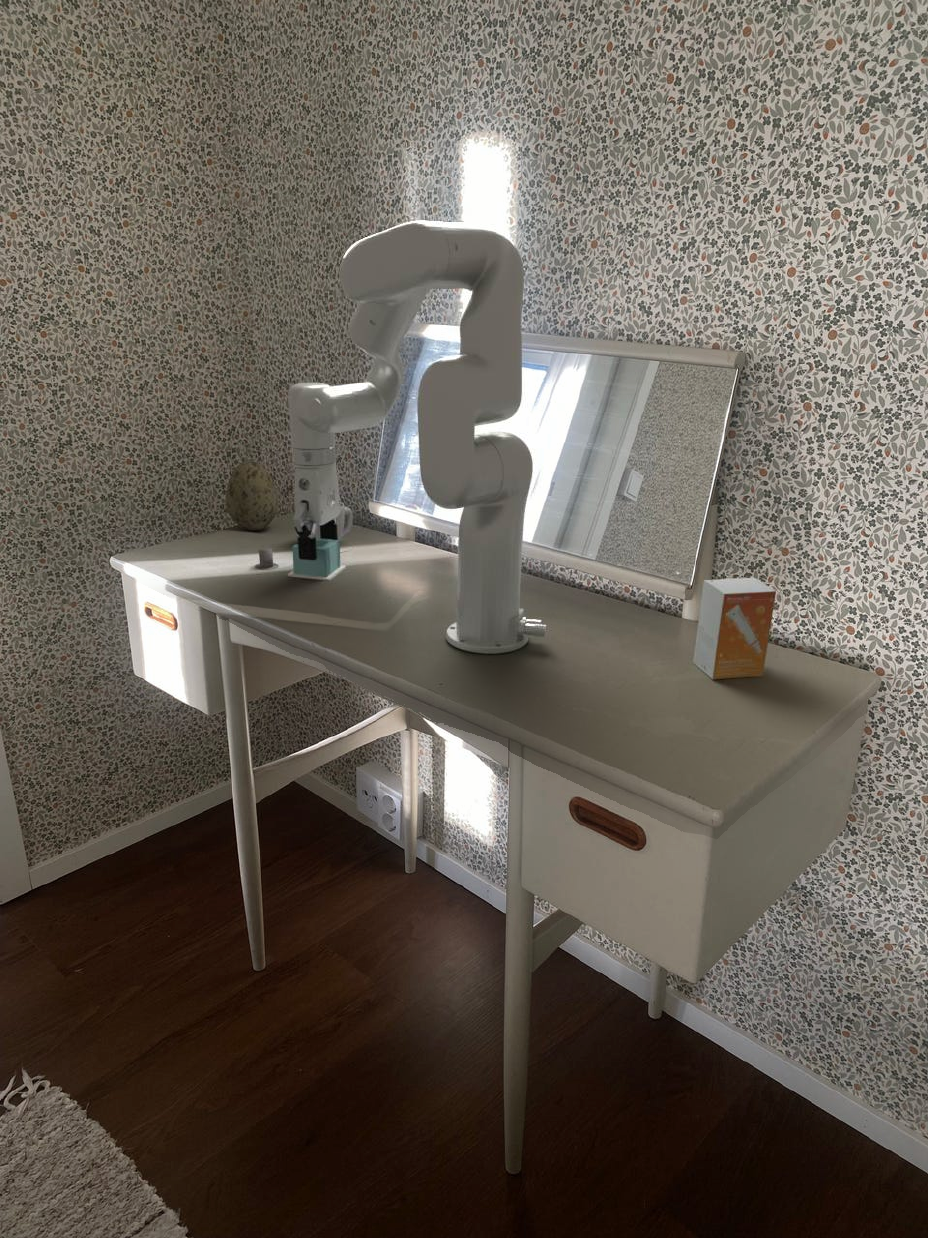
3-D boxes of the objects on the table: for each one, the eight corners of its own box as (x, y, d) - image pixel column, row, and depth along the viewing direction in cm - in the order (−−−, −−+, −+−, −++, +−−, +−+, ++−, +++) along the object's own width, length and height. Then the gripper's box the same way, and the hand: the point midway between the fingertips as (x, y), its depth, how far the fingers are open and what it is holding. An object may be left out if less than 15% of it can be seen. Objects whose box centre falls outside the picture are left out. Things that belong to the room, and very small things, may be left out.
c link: (340, 566, 170) (339, 540, 168) (327, 576, 164) (326, 549, 163) (307, 563, 172) (306, 537, 170) (293, 573, 166) (292, 546, 164)
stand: (355, 572, 173) (354, 548, 171) (330, 592, 162) (330, 566, 160) (256, 562, 177) (255, 538, 176) (226, 581, 167) (224, 555, 165)
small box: (712, 681, 131) (723, 593, 126) (692, 663, 136) (702, 579, 132) (764, 676, 132) (777, 590, 128) (742, 659, 138) (754, 576, 133)
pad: (346, 568, 171) (346, 565, 171) (329, 581, 164) (329, 578, 163) (305, 564, 173) (305, 561, 172) (287, 577, 165) (287, 574, 165)
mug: (320, 561, 179) (318, 512, 176) (291, 551, 185) (289, 504, 181) (366, 548, 188) (365, 502, 184) (337, 540, 193) (336, 494, 190)
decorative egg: (219, 534, 195) (214, 463, 189) (239, 521, 205) (235, 453, 199) (268, 538, 193) (264, 466, 188) (286, 525, 203) (283, 456, 198)
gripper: (314, 466, 152) (319, 567, 158) (352, 449, 168) (355, 541, 173) (272, 464, 154) (278, 563, 159) (313, 447, 169) (318, 538, 175)
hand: (318, 552), depth 166 cm, fingers open, 9 cm apart
